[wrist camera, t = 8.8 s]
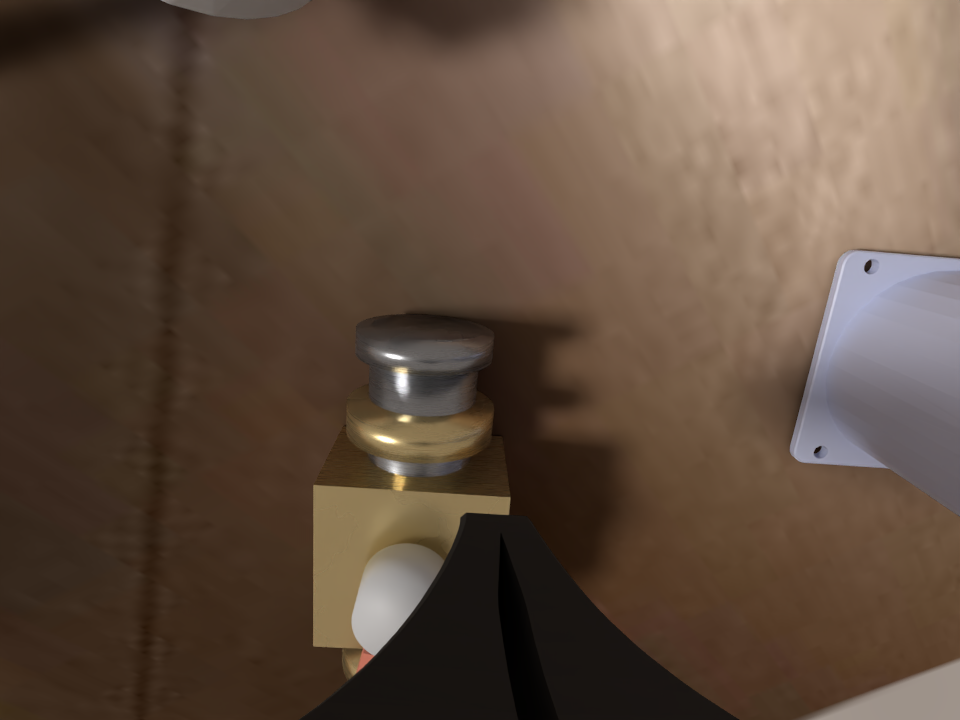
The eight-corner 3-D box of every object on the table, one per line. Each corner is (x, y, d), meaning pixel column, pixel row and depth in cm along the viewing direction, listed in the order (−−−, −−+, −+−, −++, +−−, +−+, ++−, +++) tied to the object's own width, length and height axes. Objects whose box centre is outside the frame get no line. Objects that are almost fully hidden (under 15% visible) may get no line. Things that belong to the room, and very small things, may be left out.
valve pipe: (345, 308, 21) (311, 344, 16) (514, 321, 21) (527, 360, 16) (339, 652, 25) (311, 757, 21) (479, 659, 25) (481, 764, 21)
